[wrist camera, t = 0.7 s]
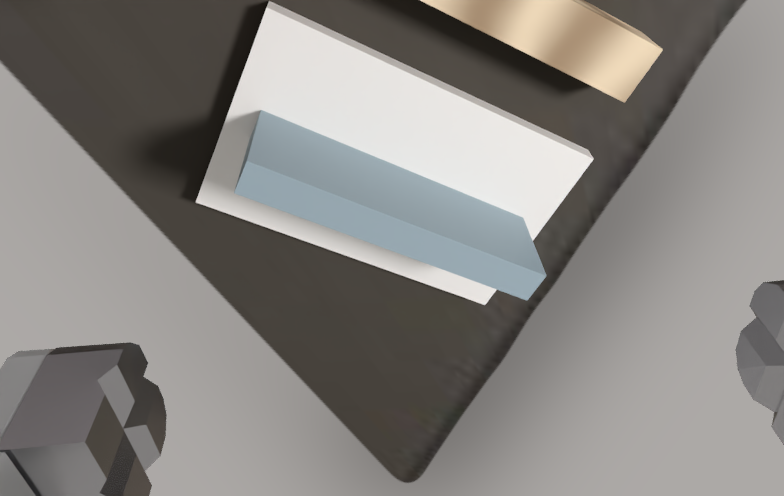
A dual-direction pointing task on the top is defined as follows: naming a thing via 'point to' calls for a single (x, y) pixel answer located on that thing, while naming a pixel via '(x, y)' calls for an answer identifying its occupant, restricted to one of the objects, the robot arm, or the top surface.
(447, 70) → the top surface
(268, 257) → the top surface
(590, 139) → the top surface
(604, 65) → the maple bar
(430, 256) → the ridge stand
